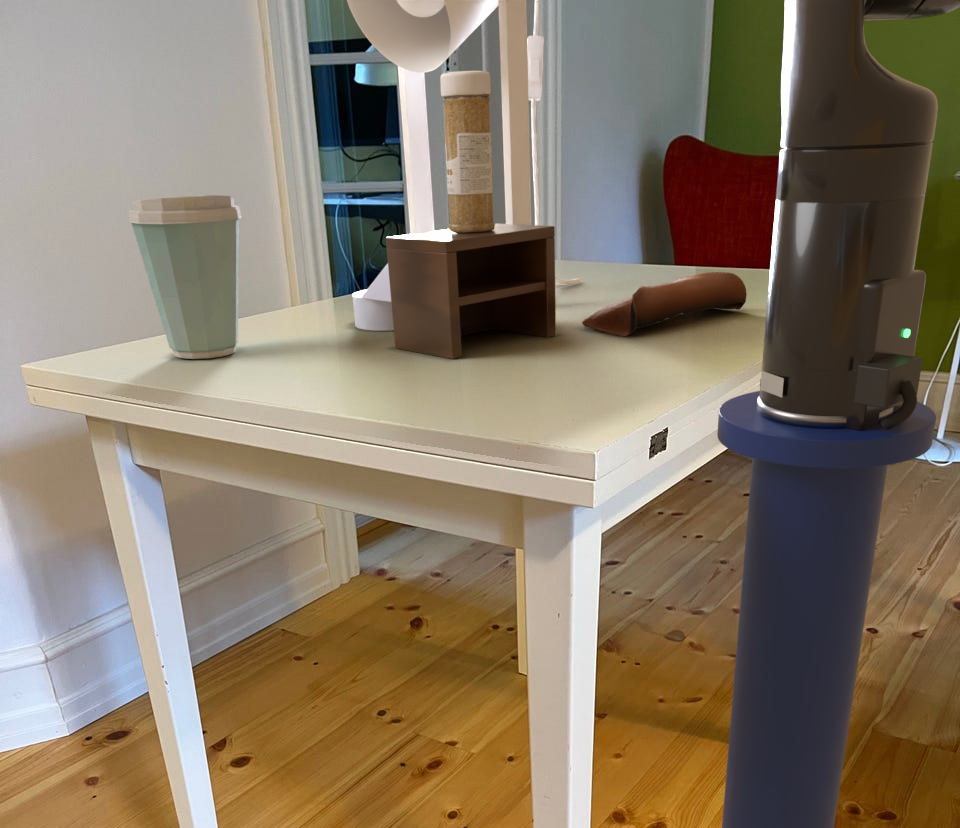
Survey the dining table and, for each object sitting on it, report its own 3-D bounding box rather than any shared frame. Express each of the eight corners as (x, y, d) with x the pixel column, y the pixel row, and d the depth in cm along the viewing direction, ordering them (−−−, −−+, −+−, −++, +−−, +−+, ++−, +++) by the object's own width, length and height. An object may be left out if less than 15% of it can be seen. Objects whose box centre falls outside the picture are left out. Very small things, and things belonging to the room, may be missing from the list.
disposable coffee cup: (151, 350, 104) (120, 195, 98) (252, 339, 108) (230, 188, 101) (159, 369, 96) (127, 200, 89) (270, 356, 99) (247, 192, 92)
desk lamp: (338, 312, 121) (287, -149, 100) (511, 277, 141) (499, -112, 120) (460, 327, 108) (431, -200, 87) (632, 286, 128) (641, -149, 107)
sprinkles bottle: (447, 230, 98) (438, 74, 91) (493, 228, 98) (487, 71, 92) (450, 234, 93) (441, 71, 87) (498, 232, 94) (492, 68, 88)
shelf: (556, 335, 101) (554, 226, 97) (452, 359, 93) (445, 241, 88) (496, 326, 107) (492, 223, 103) (394, 348, 99) (385, 237, 95)
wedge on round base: (475, 324, 109) (400, 313, 118) (471, 259, 106) (395, 253, 115) (412, 337, 104) (339, 325, 113) (407, 270, 101) (332, 263, 109)
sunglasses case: (685, 299, 114) (712, 248, 109) (726, 337, 111) (756, 286, 106) (575, 323, 104) (599, 268, 99) (617, 366, 101) (644, 311, 96)
